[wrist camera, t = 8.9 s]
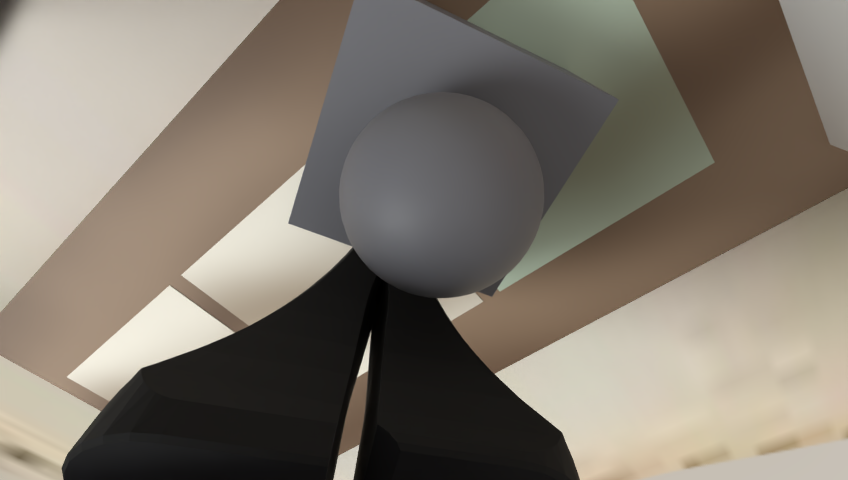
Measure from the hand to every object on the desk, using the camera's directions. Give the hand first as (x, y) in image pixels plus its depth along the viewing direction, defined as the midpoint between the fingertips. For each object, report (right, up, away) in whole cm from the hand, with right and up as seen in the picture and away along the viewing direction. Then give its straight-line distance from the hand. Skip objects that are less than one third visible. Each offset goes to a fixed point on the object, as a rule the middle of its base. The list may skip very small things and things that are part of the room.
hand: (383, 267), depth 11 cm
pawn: (+1, +4, -1) cm, 4 cm away
